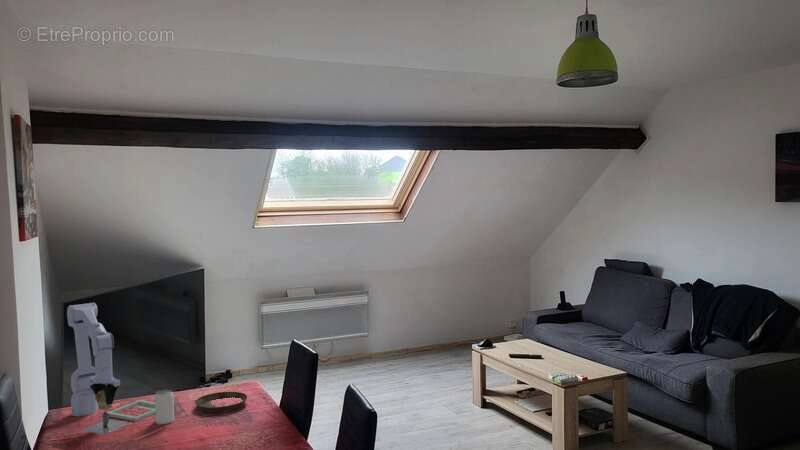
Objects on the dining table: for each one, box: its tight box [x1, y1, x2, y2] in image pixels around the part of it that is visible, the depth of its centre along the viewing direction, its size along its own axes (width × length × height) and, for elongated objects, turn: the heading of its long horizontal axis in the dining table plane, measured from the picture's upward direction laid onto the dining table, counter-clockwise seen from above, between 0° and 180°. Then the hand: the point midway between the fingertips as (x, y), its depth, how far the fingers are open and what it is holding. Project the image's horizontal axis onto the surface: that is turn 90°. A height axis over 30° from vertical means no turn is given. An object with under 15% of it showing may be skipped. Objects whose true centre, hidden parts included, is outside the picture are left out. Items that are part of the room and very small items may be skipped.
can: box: [154, 388, 175, 426], centre depth 226 cm, size 6×6×12 cm
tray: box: [107, 399, 156, 422], centre depth 237 cm, size 16×16×2 cm
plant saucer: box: [194, 391, 248, 413], centre depth 244 cm, size 21×21×3 cm
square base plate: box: [80, 411, 132, 436], centre depth 221 cm, size 12×12×6 cm
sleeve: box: [95, 390, 113, 410], centre depth 220 cm, size 4×6×6 cm
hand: (105, 403), depth 221 cm, fingers closed on sleeve, 4 cm apart
